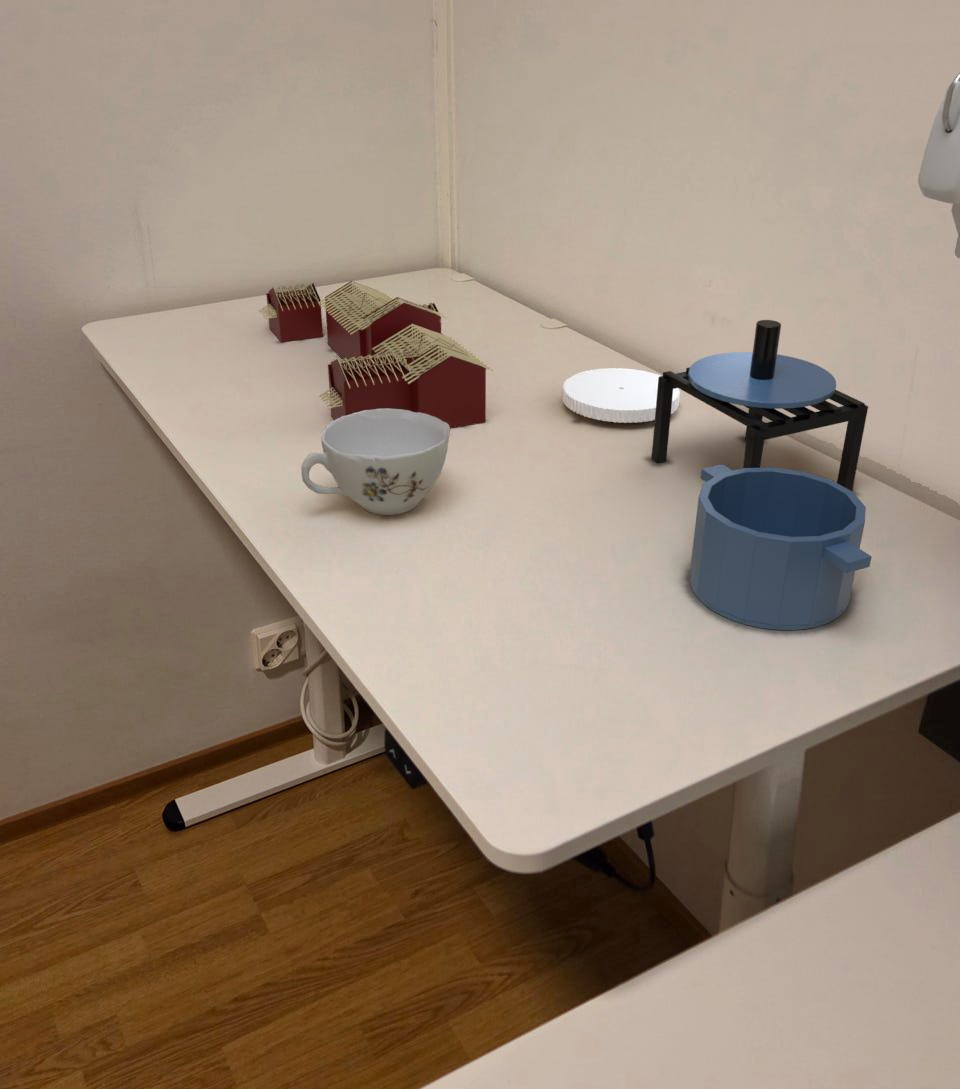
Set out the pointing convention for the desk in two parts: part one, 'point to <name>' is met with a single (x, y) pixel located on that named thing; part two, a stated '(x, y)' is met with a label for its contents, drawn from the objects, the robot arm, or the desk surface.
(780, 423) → the rack
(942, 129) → the robot arm
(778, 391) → the lid
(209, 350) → the desk surface
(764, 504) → the pot
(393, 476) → the teacup
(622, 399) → the plastic lid
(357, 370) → the toy houses
